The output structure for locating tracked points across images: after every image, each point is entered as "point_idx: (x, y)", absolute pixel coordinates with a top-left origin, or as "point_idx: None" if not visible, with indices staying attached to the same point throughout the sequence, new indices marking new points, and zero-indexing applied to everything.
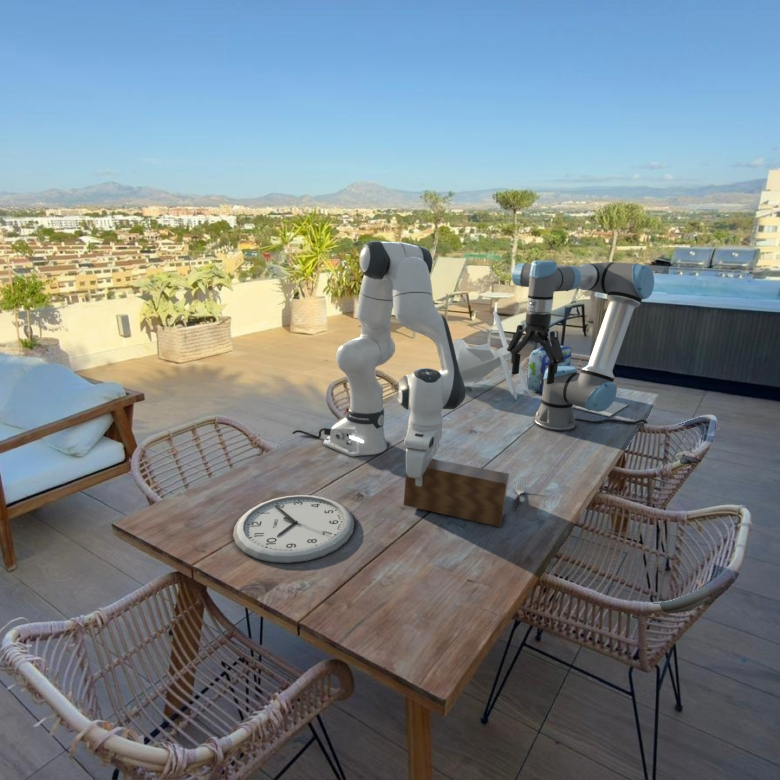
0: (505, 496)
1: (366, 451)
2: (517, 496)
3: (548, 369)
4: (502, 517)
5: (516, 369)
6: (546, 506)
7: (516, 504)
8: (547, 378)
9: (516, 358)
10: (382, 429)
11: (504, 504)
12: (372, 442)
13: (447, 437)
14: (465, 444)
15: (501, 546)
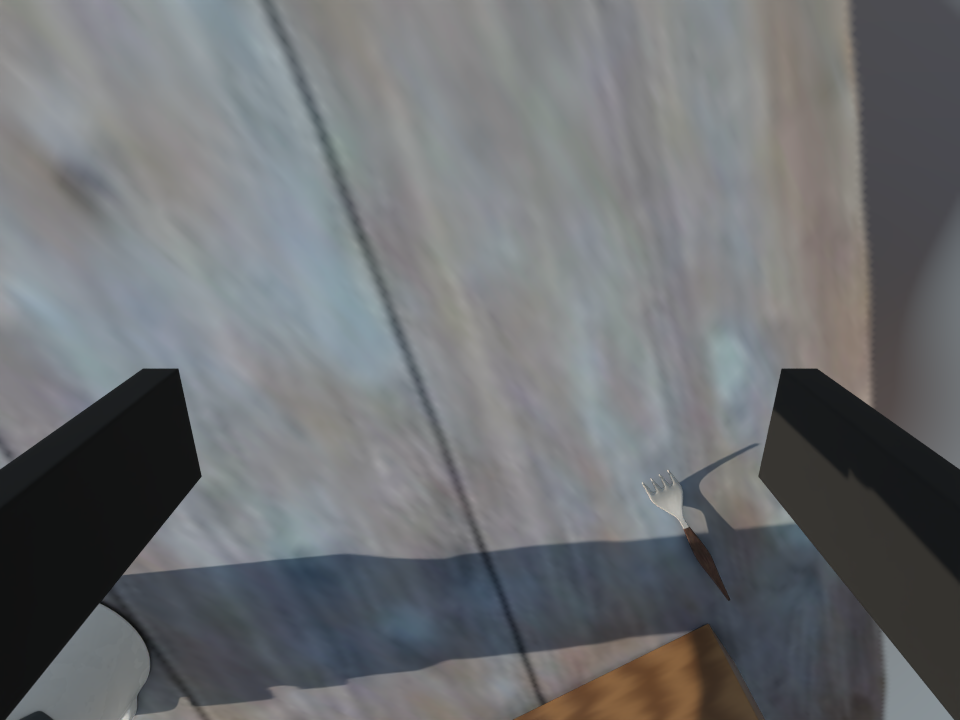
0: (752, 704)
1: (134, 694)
2: (689, 540)
3: (906, 647)
4: (720, 642)
5: (152, 461)
6: None
7: (716, 577)
8: (806, 525)
9: (15, 645)
10: (59, 698)
11: (734, 670)
12: (113, 705)
13: (105, 355)
14: (218, 346)
15: (783, 710)
